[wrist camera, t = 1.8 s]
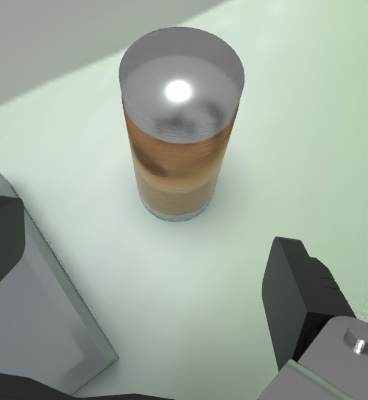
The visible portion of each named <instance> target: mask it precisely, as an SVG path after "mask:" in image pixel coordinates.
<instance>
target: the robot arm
mask: <svg viewBox="0 0 368 400" xmlns="http://www.w3.org/2000/svg"><path fill="white" fill-rule="evenodd" d="M24 250H25V220H24V204H23V201H22V199H20V198H16V197H10V196H3V195H0V282H1V280H2V279H3V278H4V277H5V276H6V275H7V274H8V273H9V272H10V271H11V270H12V269H13V268H14V267H15V265H16V264H17V263H18V262H19V261H20V260H21V258H22V256H23V253H24ZM262 300H263V304H264V308H265V313H266V317H267V322H268V326H269V330H270V335H271V339H272V344H273V348H274V353H275V357H276V361H277V366H278V370H279V373H278V374H277V375H276V377H275V378H274V379H273V380H272V382H271V383H270V384H269V385H268V387H267V388H266V389H265V390H264V392H263V393H262V394H261V395H260V397H259V398H258V399H257V400H368V323H366V322H364V321H362V320H359V319H357V318H356V316H355V314H354V312H353V311H352V309H351V307H350V306H349V304H348V302H347V300H346V299H345V297H344V295H343V293H342V292H341V291H340V288H339V286H338V285H337V283H336V282H335V281H334V278H333V276H332V274H331V272H330V271H329V269H328V268H327V267H326V266H325V265H324V264H323V263H321V262H320V261H319V260H318V259H317V258H313V257H309V255H308V253H307V251H306V249H305V247H304V245H303V243H302V241H301V240H297V239H290V238H283V237H275V238H274V240H273V243H272V247H271V251H270V254H269V258H268V262H267V266H266V270H265V274H264V278H263V283H262ZM0 400H173V399H167V398H160V397H154V396H147V395H141V394H123V395H111V396H99V397H87V398H76V397H73V396H70V395H68V394H65V393H63V392H61V391H59V390H56V389H54V388H52V387H49V386H47V385H45V384H43V383H40V382H38V381H36V380H33V379H31V378H29V377H23V376H16V375H10V374H3V373H0Z"/></svg>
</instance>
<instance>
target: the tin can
mask: <svg viewBox="0 0 368 400" xmlns="http://www.w3.org/2000/svg"><path fill="white" fill-rule="evenodd" d="M119 81H120V87H121V92H122V104H123V109H124V115H125V120H126V126H127V131H128V137H129V142H130V148H131V153H132V159H133V164H134V170H135V175H136V181H137V186H138V190H139V194H140V197H141V200H142V202H143V204H144V206H145V207H146V208H147V209H148V210H149V211H150V212H151V213H152V214H153V215H155V216H157V217H159V218H161V219H163V220H167V221H174V222H177V221H185V220H188V219H191V218H193V217H195V216H197V215H198V214H200V213H201V212H202V211H203V210H204V209H205V208H206V206H207V205H208V203H209V201H210V198H211V195H212V193H213V191H214V187H215V184H216V181H217V177H218V174H219V171H220V168H221V164H222V161H223V158H224V154H225V151H226V148H227V144H228V141H229V138H230V134H231V131H232V128H233V124H234V121H235V118H236V114H237V111H238V107H239V101H240V98H241V94H242V91H243V87H244V69H243V66H242V63H241V61H240V59H239V57H238V55H237V54H236V52H235V51H234V50H233V49H232V48H231V47H230V46H229V45H228V44H227V43H226V42H225V41H223V40H222V39H220V38H219V37H217V36H215V35H213V34H211V33H209V32H206V31H203V30H200V29H195V28H189V27H169V28H163V29H159V30H156V31H153V32H150V33H148V34H146V35H144V36H143V37H141V38H139V39H138V40H137V41H135V42H134V43H133V44H132V45H131V46H130V47H129V48H128V50H127V51H126V52H125V54H124V56H123V58H122V60H121V63H120V68H119Z"/></svg>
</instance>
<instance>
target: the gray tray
mask: <svg viewBox="0 0 368 400" xmlns="http://www.w3.org/2000/svg"><path fill="white" fill-rule="evenodd" d="M0 195H3V196H10V197H16V198H19V197H18V195H17V194H16V192H15V191H14V189H13V187H12V186H11V184H10V183H9V182H8V181H7V180H6V179H5V178H4V177H3V176H2V174H1V173H0ZM24 220H25V250H24V253H23V256H22V258H21V260H20V261H19V262H18V263H17V264H16V265H15V267H14V268H13V269H12V270H11V271H10V272H9V273H8V274H7V275H6V276H5V277H4V278H3V279H2V280H1V282H0V373H3V374H10V375H16V376H23V377H29V378H31V379H33V380H36V381H38V382H40V383H43V384H45V385H47V386H49V387H52V388H54V389H56V390H59V391H61V392H63V393H65V394H68V395H70V396H71V395H72V394H73V393H75V392H76V391H77V390H79V389H80V388H81V387H82V386H84V385H85V384H86V383H88V382H89V381H90V380H91V379H93V378H94V377H95V376H97V375H98V374H99V373H100V372H102V371H103V370H104V369H106V368H107V367H108V366H109V365H111V364H112V363H113V362H115V361H116V360H117V359H118V358H119V357H118V355H117V354H116V352H115V350H114V349H113V347H112V346H111V344H110V342H109V341H108V339H107V338H106V336H105V334H104V333H103V331H102V330H101V328H100V326H99V325H98V323H97V322H96V320H95V318H94V317H93V315H92V314H91V312H90V310H89V309H88V307H87V306H86V304H85V302H84V301H83V299H82V298H81V296H80V294H79V293H78V291H77V290H76V288H75V286H74V285H73V283H72V282H71V280H70V278H69V277H68V275H67V274H66V272H65V271H64V269H63V267H62V266H61V264H60V263H59V261H58V259H57V258H56V256H55V255H54V253H53V251H52V250H51V248H50V247H49V245H48V243H47V242H46V240H45V239H44V237H43V235H42V234H41V232H40V231H39V229H38V227H37V226H36V224H35V223H34V221H33V219H32V218H31V216H30V215H29V213H28V211H27V210H26V208H25V207H24Z"/></svg>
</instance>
